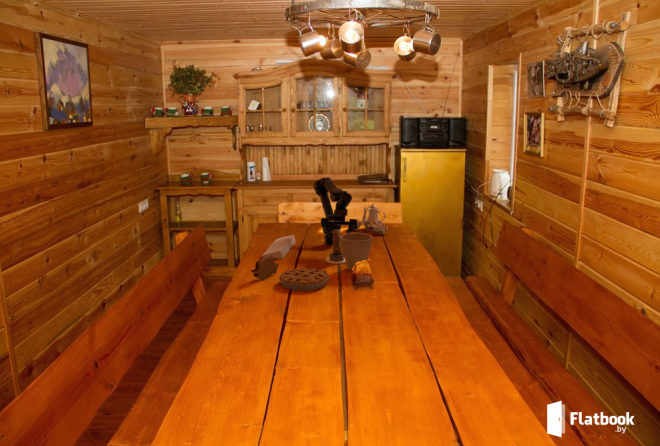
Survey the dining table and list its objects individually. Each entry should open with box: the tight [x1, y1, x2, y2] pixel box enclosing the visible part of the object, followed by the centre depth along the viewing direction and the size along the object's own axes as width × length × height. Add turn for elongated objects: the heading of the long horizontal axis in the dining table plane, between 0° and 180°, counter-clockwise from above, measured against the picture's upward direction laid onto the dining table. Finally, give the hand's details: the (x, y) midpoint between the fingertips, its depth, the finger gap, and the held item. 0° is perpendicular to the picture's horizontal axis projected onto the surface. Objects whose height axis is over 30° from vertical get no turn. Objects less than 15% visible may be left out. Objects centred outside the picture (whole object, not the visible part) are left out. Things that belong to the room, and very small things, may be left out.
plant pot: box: [340, 232, 373, 271], centre depth 264 cm, size 15×15×16 cm
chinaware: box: [354, 203, 389, 235], centre depth 341 cm, size 28×17×17 cm, turn 58°
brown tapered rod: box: [332, 229, 341, 256], centre depth 278 cm, size 4×4×15 cm
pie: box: [278, 267, 330, 292], centre depth 246 cm, size 22×22×5 cm
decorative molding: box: [262, 234, 296, 260], centre depth 301 cm, size 34×5×10 cm
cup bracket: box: [325, 252, 346, 265], centre depth 280 cm, size 11×11×3 cm
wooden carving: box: [250, 256, 279, 280], centre depth 253 cm, size 16×5×10 cm, turn 150°
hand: (337, 237), depth 285 cm, fingers open, 9 cm apart
